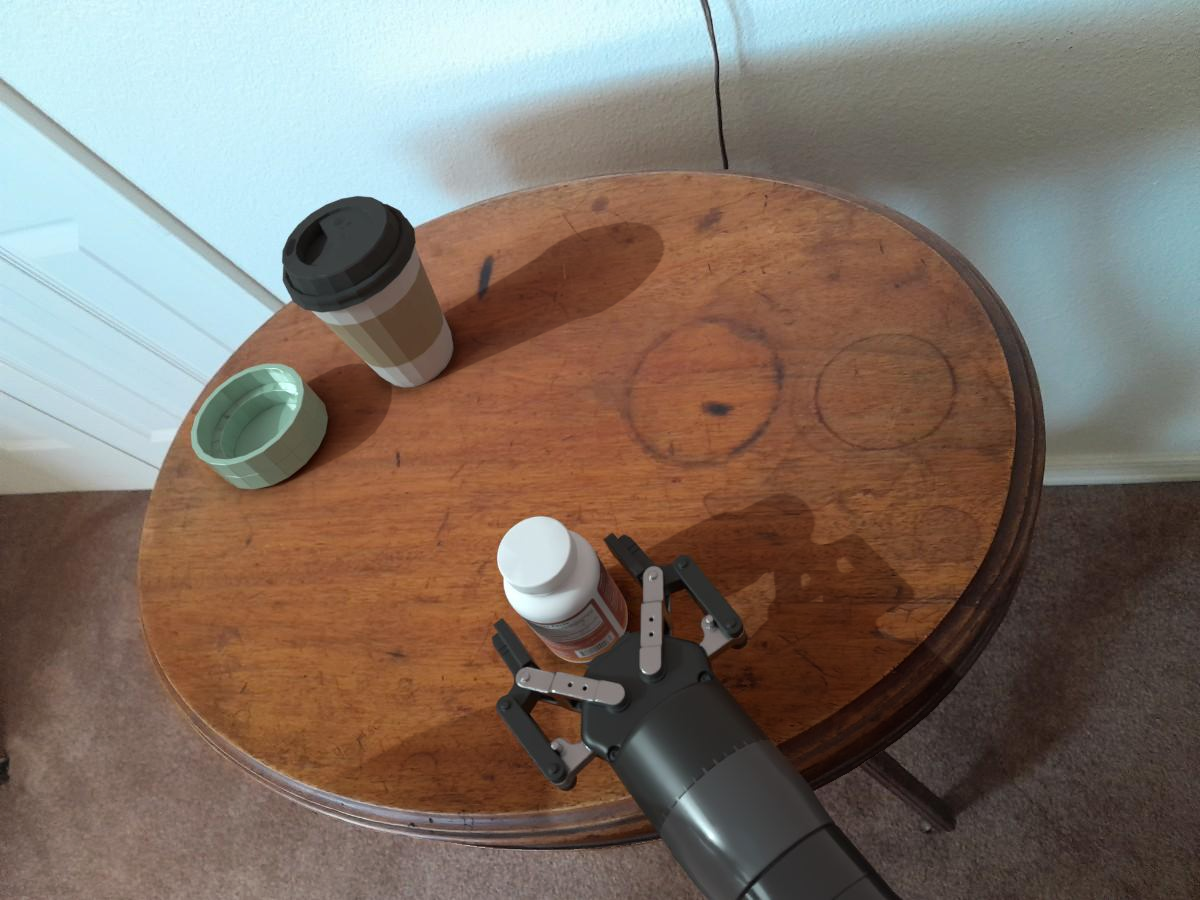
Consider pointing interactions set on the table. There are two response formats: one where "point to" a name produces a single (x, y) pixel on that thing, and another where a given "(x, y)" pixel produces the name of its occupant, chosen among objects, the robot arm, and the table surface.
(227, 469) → the bowl
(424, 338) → the coffee cup
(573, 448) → the table surface
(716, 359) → the table surface
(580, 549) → the pill bottle
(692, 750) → the robot arm
